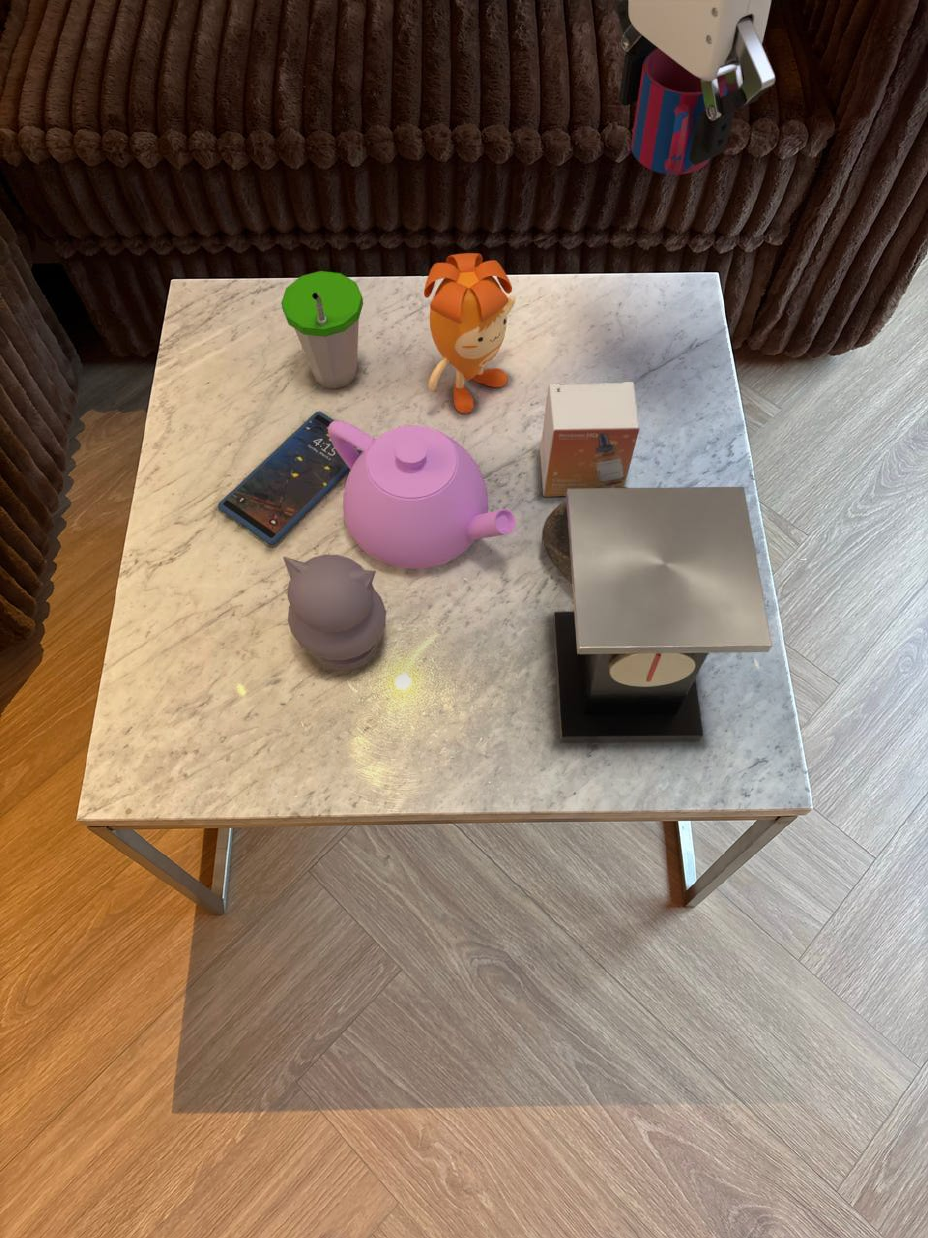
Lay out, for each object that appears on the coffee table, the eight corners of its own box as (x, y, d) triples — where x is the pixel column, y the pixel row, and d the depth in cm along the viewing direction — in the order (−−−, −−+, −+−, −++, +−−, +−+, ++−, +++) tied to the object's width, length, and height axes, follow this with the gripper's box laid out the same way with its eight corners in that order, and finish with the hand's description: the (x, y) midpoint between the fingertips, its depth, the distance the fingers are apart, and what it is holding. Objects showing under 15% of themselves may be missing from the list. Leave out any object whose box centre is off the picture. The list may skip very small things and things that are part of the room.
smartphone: (214, 504, 92) (317, 408, 97) (216, 509, 92) (318, 413, 98) (272, 545, 90) (374, 444, 95) (273, 549, 90) (374, 449, 96)
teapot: (472, 622, 87) (472, 563, 77) (299, 523, 92) (279, 456, 82) (548, 516, 92) (557, 449, 83) (380, 428, 97) (371, 355, 88)
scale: (688, 613, 87) (744, 486, 69) (706, 747, 81) (772, 646, 63) (547, 614, 87) (567, 488, 69) (554, 748, 81) (578, 648, 63)
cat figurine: (287, 671, 85) (260, 609, 74) (308, 595, 88) (286, 525, 77) (380, 686, 84) (367, 625, 73) (398, 609, 87) (388, 540, 77)
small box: (542, 498, 93) (550, 430, 84) (539, 452, 96) (546, 381, 86) (623, 496, 93) (641, 428, 84) (618, 451, 96) (634, 379, 86)
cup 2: (718, 129, 79) (737, 47, 73) (699, 208, 74) (718, 128, 68) (639, 117, 80) (651, 35, 74) (615, 194, 75) (626, 114, 69)
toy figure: (453, 436, 97) (450, 328, 83) (401, 393, 99) (390, 282, 86) (534, 374, 100) (543, 261, 87) (481, 334, 103) (483, 219, 90)
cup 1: (322, 336, 103) (300, 221, 90) (385, 360, 101) (372, 247, 88) (284, 385, 100) (255, 274, 86) (348, 411, 98) (329, 302, 85)
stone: (685, 572, 89) (696, 544, 85) (595, 630, 86) (602, 604, 82) (610, 491, 93) (617, 460, 89) (522, 543, 91) (525, 514, 86)
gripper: (861, -90, 57) (780, 169, 72) (677, -202, 64) (639, 56, 79) (767, -50, 55) (704, 206, 70) (588, -170, 62) (567, 87, 77)
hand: (670, 125), depth 75 cm, fingers closed on cup 2, 8 cm apart
